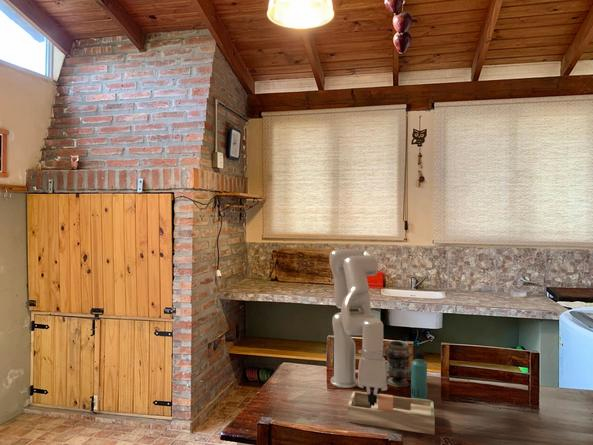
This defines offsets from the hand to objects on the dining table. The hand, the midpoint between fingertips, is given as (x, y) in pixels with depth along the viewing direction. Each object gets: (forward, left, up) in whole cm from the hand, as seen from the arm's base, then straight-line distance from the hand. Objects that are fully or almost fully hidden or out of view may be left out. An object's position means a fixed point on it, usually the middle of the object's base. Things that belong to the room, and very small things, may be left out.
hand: (372, 404), depth 148 cm
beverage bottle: (-21, +16, -6) cm, 28 cm away
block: (0, +5, -2) cm, 5 cm away
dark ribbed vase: (-38, +7, -6) cm, 39 cm away
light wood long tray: (-3, +6, -6) cm, 9 cm away
